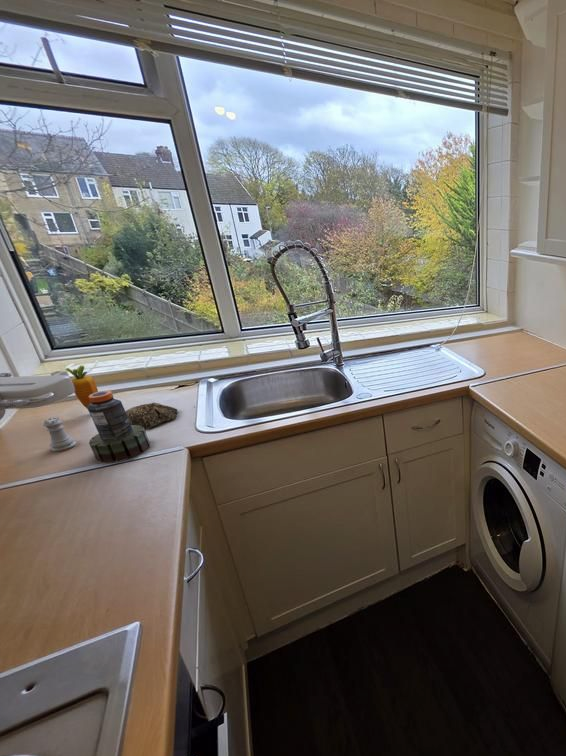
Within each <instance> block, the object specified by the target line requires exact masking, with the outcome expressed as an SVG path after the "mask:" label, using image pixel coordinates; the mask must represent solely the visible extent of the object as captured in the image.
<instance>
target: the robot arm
mask: <svg viewBox="0 0 566 756" xmlns="http://www.w3.org/2000/svg"><path fill="white" fill-rule="evenodd" d="M12 375H13V374H12V373H11V372H0V421H1V420H2V419H3V418H4V416H5V414H6V411H7V410H10V409H11V410H12V409H15V410H16V409H33V408H34V409H35V408H40V407H44V406H46V405H50V404H53V403H55V402H57V401H60V400H62V399H65V398H67V397H68V396H71V395H73V394H75V393H74V392H75V388H74V385H73V383H72V381H71V380H72V379H71V378H70V376H69V373H68V371H67V370H59V371H58V370H57V371H54V372H52V373H50V375H30V376H29V375H28V376H27V375H26V376H24V375H23V376H12Z"/></svg>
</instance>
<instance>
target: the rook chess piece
mask: <svg viewBox="0 0 566 756" xmlns="http://www.w3.org/2000/svg"><path fill="white" fill-rule="evenodd" d="M62 422H63V420H62V419H60V417H56V416H54V417H53V418H52V417H49V418H48V419H44V421H43V425H42V426H43V427H44V428H47V432H48V434H49V435H50V439H51V440H50V441H49V442H50V443H49V447H50V450H51V451H53V452H62V451H66V450H70V449H72V448H74V447H75V446H76V444H77V441H75V439H74V437H72V436H70V435H68V434H67V432H66V431H65V430H64V425H62Z"/></svg>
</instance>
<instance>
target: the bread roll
mask: <svg viewBox="0 0 566 756" xmlns="http://www.w3.org/2000/svg"><path fill="white" fill-rule="evenodd" d="M125 412H126V414H127V417H128V419H129V421H130V424H131V425H136V426H137V425H139V426H142V427H143V428H144V429H151V428H153V427H155V426H157V425H159V424H161V423H164V422H170V421H171V422H172V421H173V420H175V419H176V418H177V414H178V412H179V410H178V408H175V407H172V406H168V405H164V404H161V403H159V402H150V403H145V404H140V405H136V406H133V407H131V408H129V409H127V410H125Z"/></svg>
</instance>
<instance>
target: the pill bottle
mask: <svg viewBox="0 0 566 756" xmlns="http://www.w3.org/2000/svg"><path fill="white" fill-rule="evenodd" d="M89 399H90V401H91V404H89V405H88V409H87V411H88V413H89V415H90V417H91V420H92V422H93V424H94V427H95V429H96V431H97V434H99V435H100V437H101V439H102V440H115V439H119V438H122V437H125V436H127V435H129V434H130V433H131V432H132V431H133V428H132V426H131V424H130V421H129V419H128V417H127V414H126V412H125V411H126V409H125V407H124V405H123V403H122V401H121V399H120V398H117V397H114V394H113V393H112V391H111V390H101V391H98V392H96V393H93V394H91V395H89Z"/></svg>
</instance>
